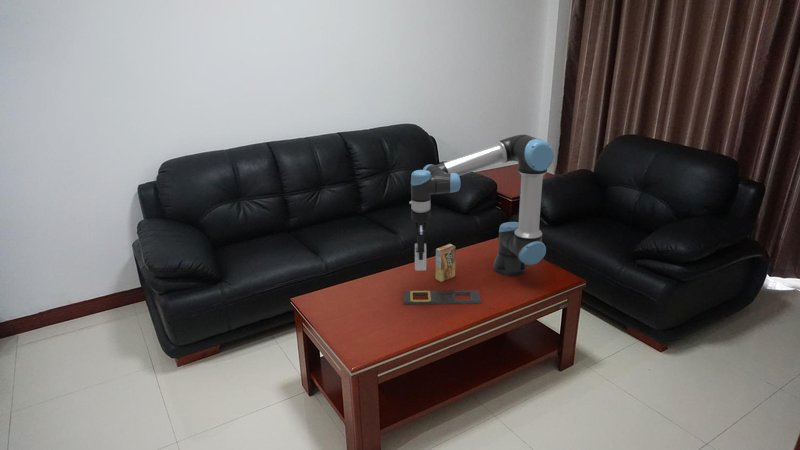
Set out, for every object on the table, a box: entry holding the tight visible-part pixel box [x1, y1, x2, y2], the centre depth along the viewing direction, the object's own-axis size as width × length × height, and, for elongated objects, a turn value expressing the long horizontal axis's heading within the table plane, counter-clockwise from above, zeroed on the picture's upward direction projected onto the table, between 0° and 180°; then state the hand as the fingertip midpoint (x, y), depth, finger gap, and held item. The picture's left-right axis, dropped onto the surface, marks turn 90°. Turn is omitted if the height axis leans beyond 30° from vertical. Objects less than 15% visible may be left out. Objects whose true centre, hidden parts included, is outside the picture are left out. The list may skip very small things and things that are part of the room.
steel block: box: [414, 243, 427, 271], centre depth 201 cm, size 4×4×10 cm
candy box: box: [434, 243, 457, 282], centre depth 223 cm, size 9×4×15 cm, turn 129°
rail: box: [403, 290, 482, 305], centre depth 208 cm, size 32×9×1 cm, turn 90°
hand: (420, 263), depth 202 cm, fingers closed on steel block, 4 cm apart
